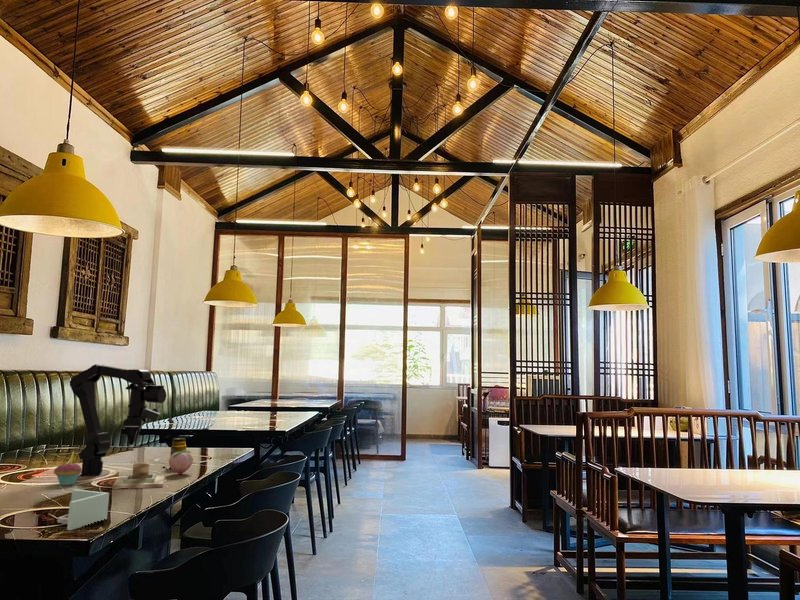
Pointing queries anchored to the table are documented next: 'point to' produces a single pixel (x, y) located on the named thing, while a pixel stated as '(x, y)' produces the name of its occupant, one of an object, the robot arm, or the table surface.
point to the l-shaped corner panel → (85, 508)
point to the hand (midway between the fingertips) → (133, 442)
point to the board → (139, 482)
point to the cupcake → (68, 472)
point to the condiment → (178, 445)
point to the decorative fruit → (180, 461)
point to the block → (140, 470)
